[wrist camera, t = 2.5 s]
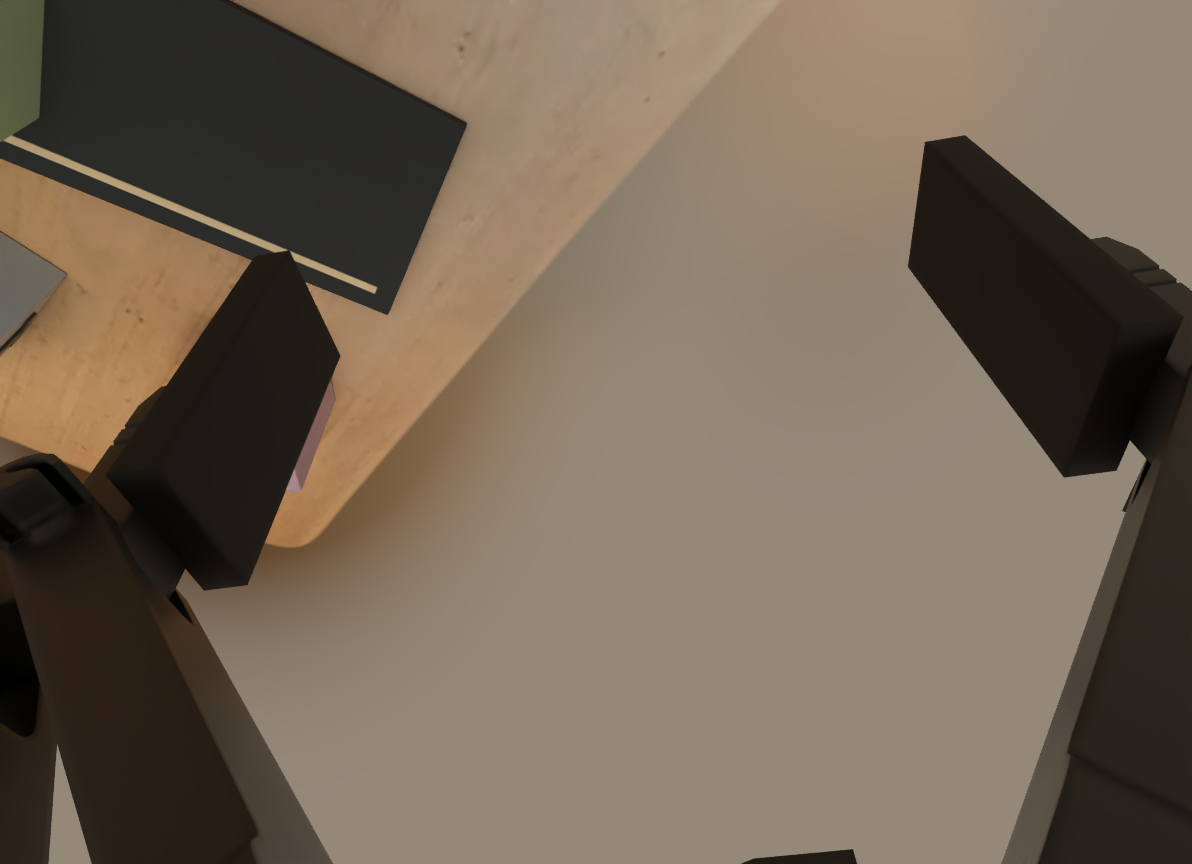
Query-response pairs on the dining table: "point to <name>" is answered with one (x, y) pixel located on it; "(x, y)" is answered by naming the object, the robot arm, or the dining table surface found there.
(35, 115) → the letter L
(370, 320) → the dining table surface
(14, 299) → the letter I
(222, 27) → the word board
